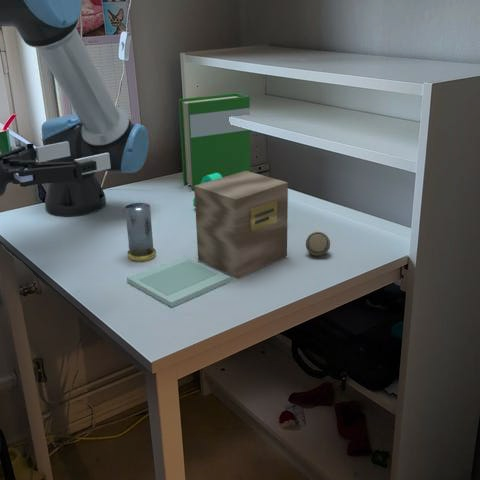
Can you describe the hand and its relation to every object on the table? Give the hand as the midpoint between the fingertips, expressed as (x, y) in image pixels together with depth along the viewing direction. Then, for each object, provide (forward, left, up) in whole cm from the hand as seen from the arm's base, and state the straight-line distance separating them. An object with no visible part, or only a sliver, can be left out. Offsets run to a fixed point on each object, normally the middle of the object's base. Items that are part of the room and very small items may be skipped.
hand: (88, 154), depth 111 cm
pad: (+15, +8, -24) cm, 29 cm away
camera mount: (-8, +39, -24) cm, 47 cm away
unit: (+16, +24, -24) cm, 37 cm away
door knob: (+26, +36, -24) cm, 50 cm away
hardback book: (-26, +54, -24) cm, 65 cm away
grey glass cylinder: (0, +10, -24) cm, 26 cm away
